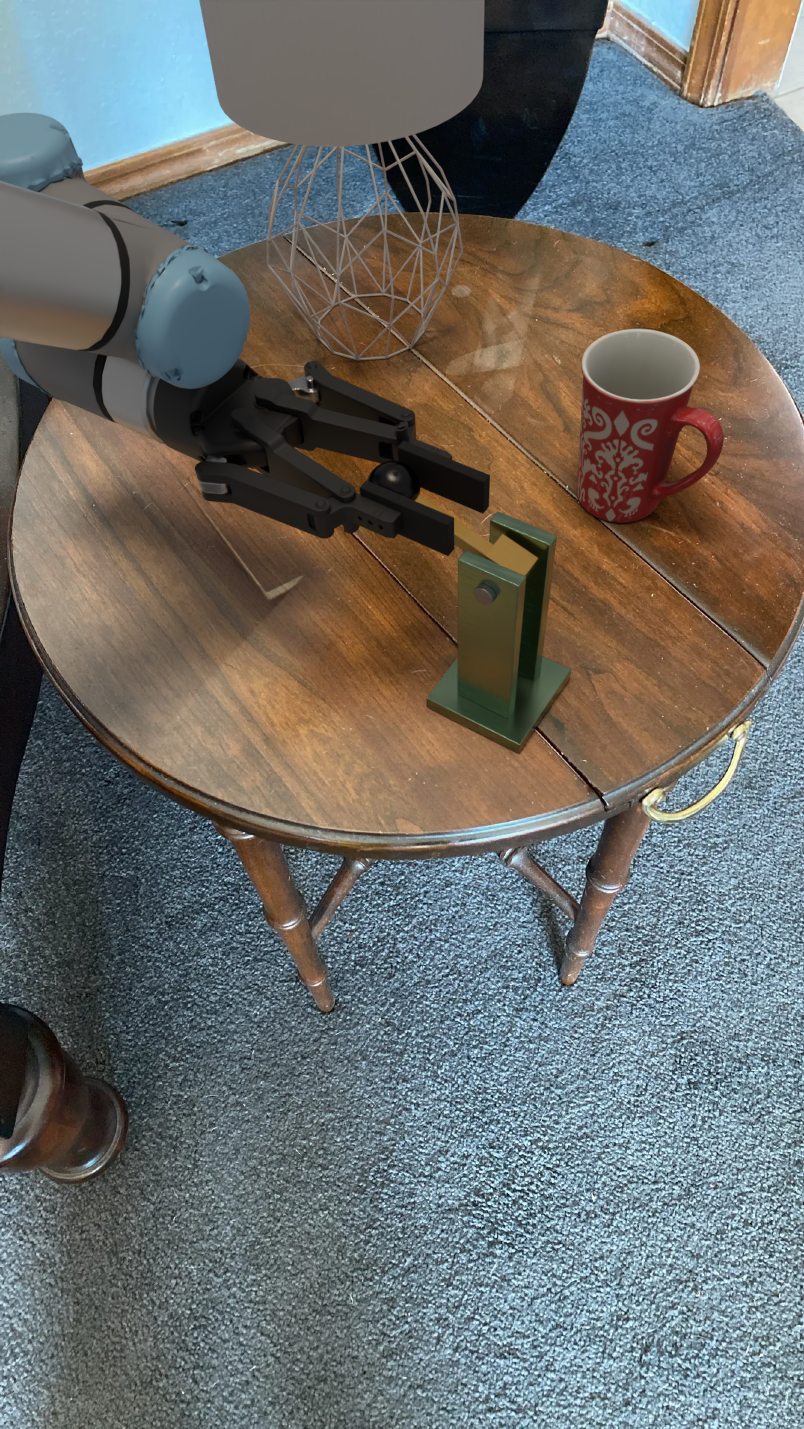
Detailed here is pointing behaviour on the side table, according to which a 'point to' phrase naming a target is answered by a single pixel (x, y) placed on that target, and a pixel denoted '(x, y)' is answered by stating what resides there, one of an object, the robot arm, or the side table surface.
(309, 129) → the table lamp
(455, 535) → the switch lever
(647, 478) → the mug
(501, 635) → the switch bracket
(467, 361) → the side table surface
